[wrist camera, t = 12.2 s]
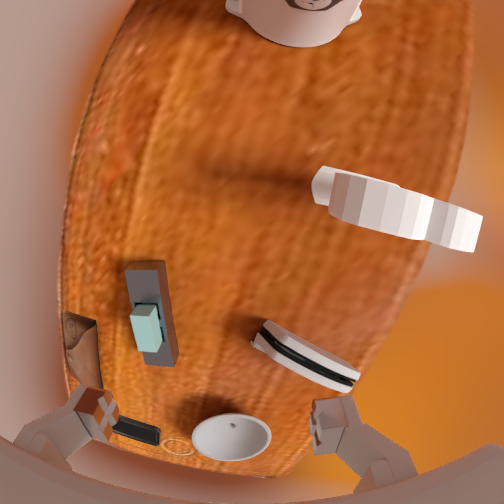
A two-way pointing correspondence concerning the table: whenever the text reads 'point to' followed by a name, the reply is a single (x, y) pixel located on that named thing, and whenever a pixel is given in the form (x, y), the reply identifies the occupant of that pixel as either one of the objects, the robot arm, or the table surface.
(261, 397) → the table surface
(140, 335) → the pale teal plug block
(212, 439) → the dish
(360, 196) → the heart sculpture
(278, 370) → the table surface
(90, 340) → the sunglasses case
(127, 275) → the grey rectangular block
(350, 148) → the table surface
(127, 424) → the phone
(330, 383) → the napkin holder
